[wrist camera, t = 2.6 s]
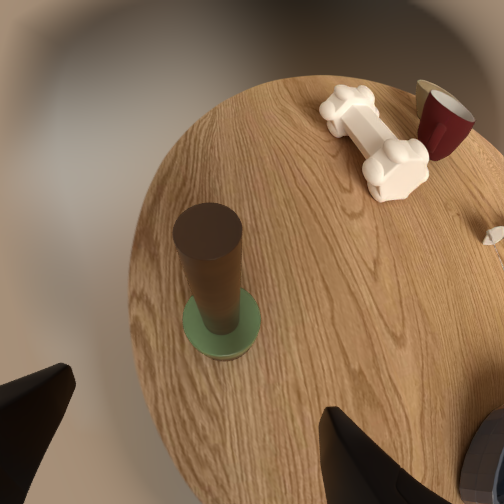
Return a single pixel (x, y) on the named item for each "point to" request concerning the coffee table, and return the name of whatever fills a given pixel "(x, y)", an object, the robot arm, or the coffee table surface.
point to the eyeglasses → (494, 237)
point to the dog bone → (376, 143)
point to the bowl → (485, 463)
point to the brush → (215, 282)
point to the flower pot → (426, 94)
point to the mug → (443, 124)
